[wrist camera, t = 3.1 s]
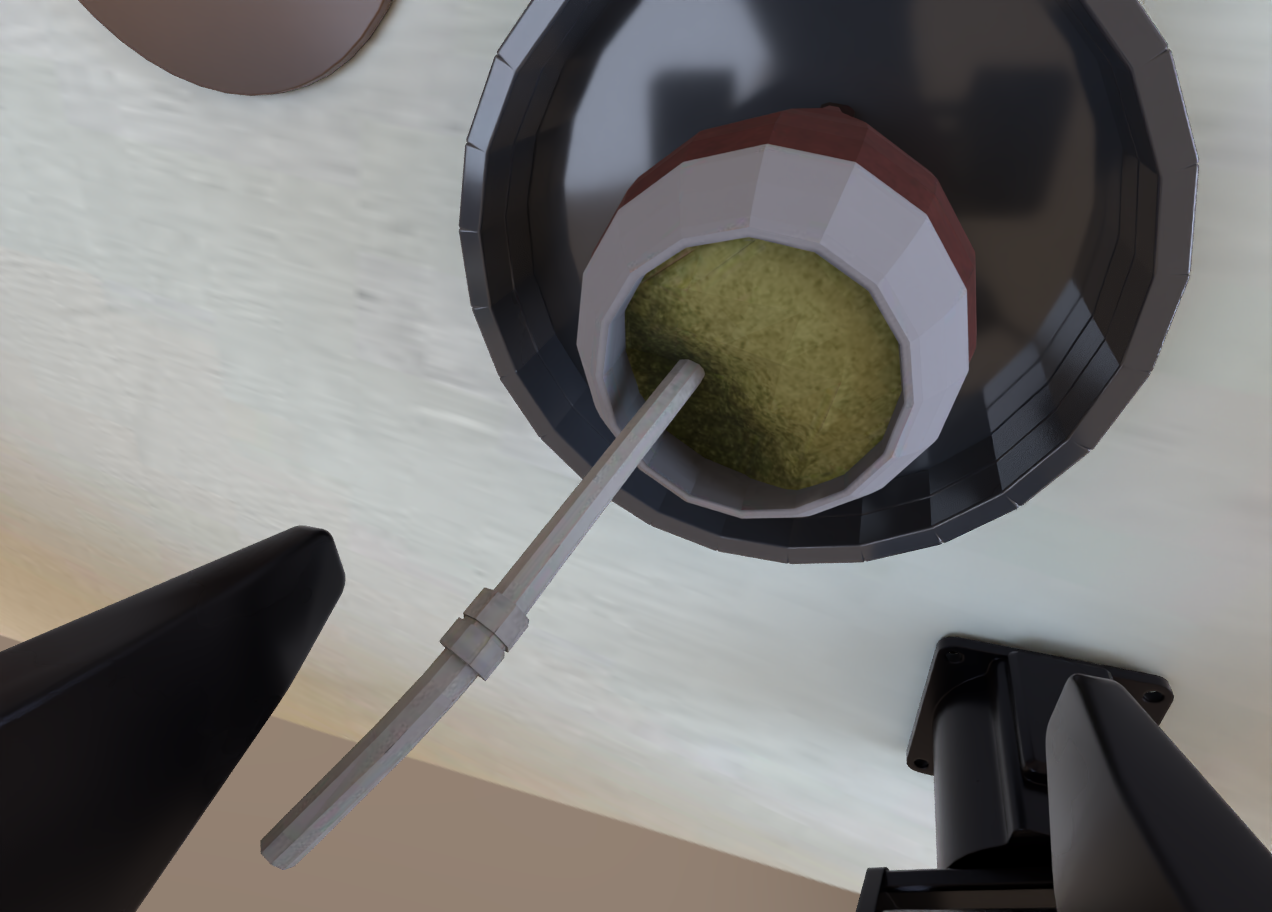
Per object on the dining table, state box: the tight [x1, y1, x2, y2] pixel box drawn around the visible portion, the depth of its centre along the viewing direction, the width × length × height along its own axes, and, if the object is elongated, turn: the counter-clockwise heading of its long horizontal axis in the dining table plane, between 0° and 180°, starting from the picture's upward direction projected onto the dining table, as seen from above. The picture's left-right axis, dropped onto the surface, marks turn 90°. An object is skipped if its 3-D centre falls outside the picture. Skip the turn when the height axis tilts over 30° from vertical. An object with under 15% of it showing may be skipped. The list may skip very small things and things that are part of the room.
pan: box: [459, 0, 1199, 564], centre depth 17 cm, size 15×15×3 cm
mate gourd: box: [261, 102, 977, 870], centre depth 12 cm, size 8×8×15 cm
